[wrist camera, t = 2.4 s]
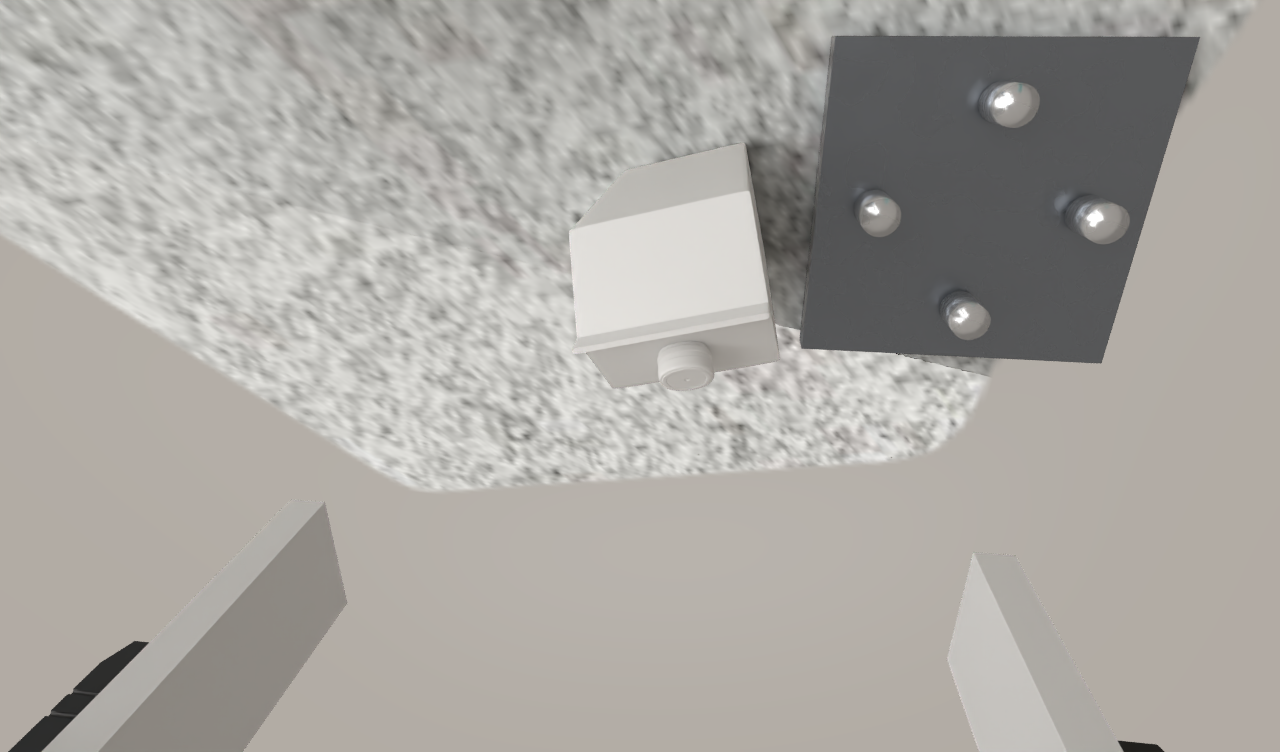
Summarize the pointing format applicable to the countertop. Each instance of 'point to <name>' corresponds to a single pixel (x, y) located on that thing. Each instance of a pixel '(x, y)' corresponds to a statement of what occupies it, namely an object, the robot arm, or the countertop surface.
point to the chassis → (985, 191)
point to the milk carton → (674, 274)
